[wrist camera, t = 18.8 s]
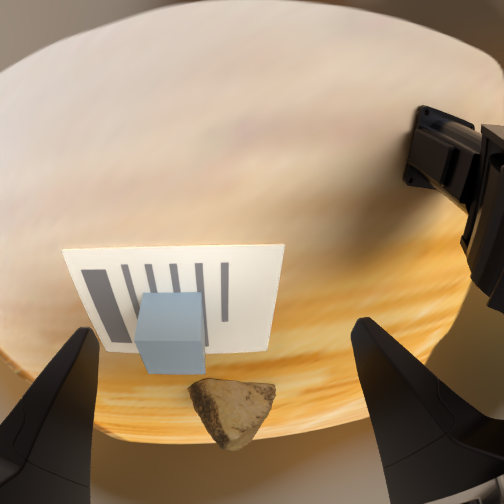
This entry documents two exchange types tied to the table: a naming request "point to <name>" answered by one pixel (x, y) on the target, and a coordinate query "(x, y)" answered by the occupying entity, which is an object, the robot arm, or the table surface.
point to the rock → (232, 409)
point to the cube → (171, 333)
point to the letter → (181, 290)
